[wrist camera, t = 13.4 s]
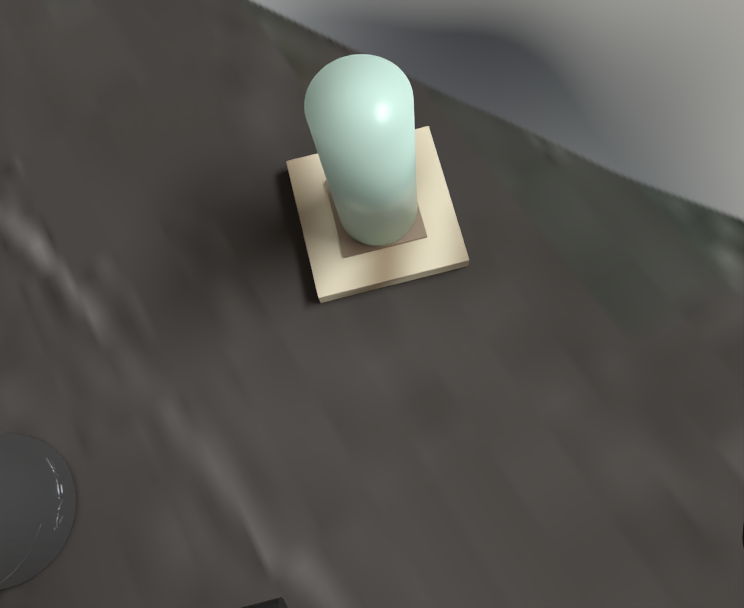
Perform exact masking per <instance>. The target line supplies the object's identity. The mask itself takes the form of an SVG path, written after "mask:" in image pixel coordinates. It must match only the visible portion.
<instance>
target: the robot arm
mask: <svg viewBox="0 0 744 608" xmlns="http://www.w3.org/2000/svg"><path fill="white" fill-rule="evenodd" d="M75 510H76V491H75V486H74V482H73V478H72V475H71V473H70V471H69V469H68V466H67V464H66V462H65V461H64V460H63V459H62V457H61V456H60V455H59V454H58V453H57V451H55V450H54V449H53V448H52V447H50V446H49V445H48V444H46V443H45V442H42V441H40V440H38V439H36V438H33V437H29V436H24V435H18V434H12V433H6V432H0V590H1V589H5V588H9V587H13V586H17V585H19V584H21V583H23V582H25V581H27V580H30V579H32V578H33V577H34V576H36V575H37V574H38V573H40V572H41V571H42V570H44V569H45V568H46V567H47V566H48V565H49V564H50V563H51V562H52V561H53V560H54V558H55V557H56V556H57V555H58V554H59V552H60V550H61V549H62V547H63V545H64V544H65V542H66V541H67V538H68V536H69V533H70V530H71V528H72V525H73V521H74V516H75ZM743 546H744V525H743ZM242 608H287V605H286V603H285V601H284V599H283V598H277V599H273V600H269V601H265V602H261V603H257V604H254V605H250V606H246V607H242Z"/></svg>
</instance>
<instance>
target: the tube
mask: <svg viewBox="0 0 744 608" xmlns="http://www.w3.org/2000/svg"><path fill="white" fill-rule="evenodd" d="M304 108H305V115H306V119H307V122H308V125H309V128H310V131H311V134H312V137H313V140H314V143H315V146H316V149H317V152H318V155H319V158H320V161H321V164H322V167H323V170H324V173H325V176H326V179H327V182H328V185H329V188H330V191H331V194H332V197H333V200H334V203H335V206H336V209H337V212H338V215H339V218H340V221H341V224H342V226H343V228H344V229H345V231H346V232H347V233H348V234H349V235H350V236H351V237H352V238H353V239H355V240H356V241H358V242H360V243H363V244H366V245H371V246H383V245H388V244H391V243H394V242H396V241H398V240H399V239H401V238H402V237H404V236H405V235H406V234H407V233H408V232H409V231H410V229H411V228H412V226H413V224H414V222H415V220H416V216H417V208H418V206H417V179H416V152H415V126H414V99H413V92H412V88H411V85H410V83H409V80H408V79H407V77H406V75H405V74H404V73H403V72H402V71H401V70H400V69H399V68H398V67H397V66H396V65H394V64H393V63H392V62H390V61H388V60H386V59H384V58H381V57H378V56H374V55H367V54H356V55H349V56H345V57H342V58H339V59H337V60H335V61H333V62H331V63H329V64H328V65H326V66H325V67H324V68H323V69H321V70H320V71H319V72H318V73H317V74H316V76H315V77H314V78H313V80H312V81H311V83H310V85H309V87H308V89H307V92H306V96H305V103H304Z"/></svg>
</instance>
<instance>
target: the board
mask: <svg viewBox="0 0 744 608" xmlns="http://www.w3.org/2000/svg"><path fill="white" fill-rule="evenodd" d="M415 152H416V179H417V206H418V208H417V216H416V220H415V222H414V224H413V226H412V228H411V229H410V231H409V232H408V233H407V234H406V235H405V236H404V237H402V238H401V239H399V240H398V241H396V242H394V243H391V244H388V245H383V246H371V245H366V244H363V243H360V242H358V241H356V240H355V239H353V238H352V237H351V236H350V235H349V234H348V233H347V232H346V231H345V229H344V228H343V226H342V224H341V221H340V218H339V215H338V212H337V209H336V206H335V203H334V200H333V197H332V194H331V191H330V188H329V185H328V182H327V179H326V176H325V173H324V170H323V167H322V164H321V161H320V158H319V155H318V154H314V155H310V156H306V157H302V158H298V159H293V160H289V161H286V162H287V167H288V171H289V175H290V179H291V184H292V188H293V192H294V196H295V201H296V205H297V209H298V213H299V218H300V222H301V226H302V230H303V235H304V239H305V243H306V247H307V252H308V256H309V260H310V264H311V269H312V273H313V277H314V281H315V286H316V290H317V294H318V298H319V300H320V303H323V302H327V301H331V300H335V299H339V298H343V297H347V296H351V295H355V294H359V293H363V292H367V291H370V290H374V289H378V288H382V287H386V286H390V285H394V284H398V283H402V282H406V281H410V280H414V279H418V278H422V277H426V276H430V275H434V274H438V273H442V272H446V271H450V270H454V269H458V268H462V267H466V266H468V263H469V257H468V254H467V251H466V248H465V244H464V241H463V238H462V234H461V231H460V228H459V225H458V221H457V218H456V215H455V211H454V208H453V205H452V201H451V198H450V195H449V192H448V188H447V185H446V182H445V178H444V175H443V172H442V169H441V165H440V162H439V159H438V155H437V152H436V149H435V146H434V142H433V139H432V136H431V132H430V129H429V126H427V127H423V128H419V129H415Z"/></svg>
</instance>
